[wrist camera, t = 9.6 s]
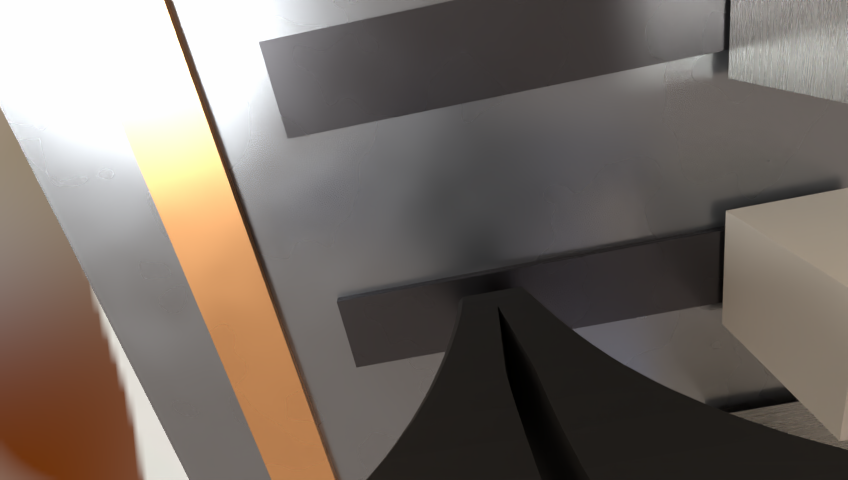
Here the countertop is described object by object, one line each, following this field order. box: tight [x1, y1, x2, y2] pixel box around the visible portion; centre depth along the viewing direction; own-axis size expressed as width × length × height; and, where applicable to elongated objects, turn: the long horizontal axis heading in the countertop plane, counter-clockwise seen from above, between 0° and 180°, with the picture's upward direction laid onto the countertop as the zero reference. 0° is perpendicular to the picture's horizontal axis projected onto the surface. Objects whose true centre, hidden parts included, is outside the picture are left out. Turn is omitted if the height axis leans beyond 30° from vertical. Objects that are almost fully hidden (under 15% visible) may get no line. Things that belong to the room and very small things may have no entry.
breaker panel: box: [0, 0, 848, 480], centre depth 11 cm, size 16×22×5 cm
